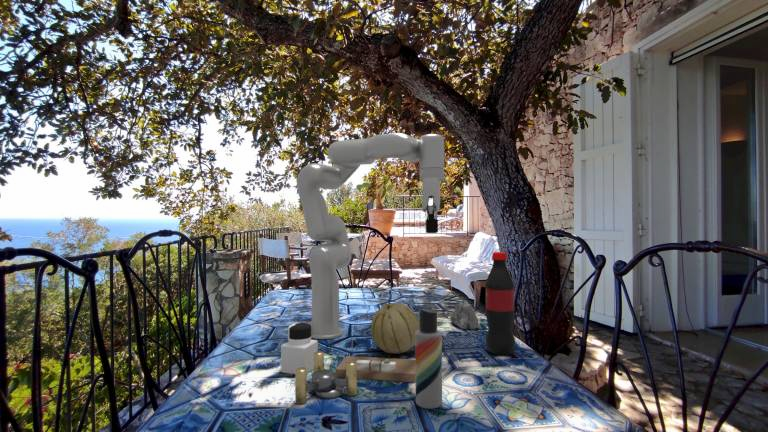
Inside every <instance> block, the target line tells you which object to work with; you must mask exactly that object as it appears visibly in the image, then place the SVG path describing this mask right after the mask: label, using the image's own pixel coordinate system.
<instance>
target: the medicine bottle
mask: <svg viewBox="0 0 768 432" xmlns="http://www.w3.org/2000/svg"><path fill="white" fill-rule="evenodd" d="M317 351H319V341H318V339H312V338H311V325H310V324H308V323H301V322H295V323H292V324H290V325H289V326H288V328H287V341H286V342H285V343H283V344H282V345H281V346H280V372H281V373H282V374H283V373H284V374H289V375H290V374H291V375H295V370H296V369H297V368H302V367H303V368H307V374H309V373H310V372H312V371H314V352H317Z"/></svg>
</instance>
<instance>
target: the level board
mask: <svg viewBox="0 0 768 432" xmlns="http://www.w3.org/2000/svg"><path fill="white" fill-rule="evenodd" d="M349 361H355V362H357V380H359V379H360V380H374V381H386V382H387V381H388V382H389V381H390V382H403V383H404V382H405V383H415V359H405V358H388V357H386V358H385V357H372V356H356V355H355V356H353V355H351V356H349V355H346V356H345V357H344V359H343V360H342V361H341V362H340V363H339V365H337V366H336V368H335V372H336V378H340V379H346V363H347V362H349Z"/></svg>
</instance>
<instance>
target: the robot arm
mask: <svg viewBox="0 0 768 432" xmlns="http://www.w3.org/2000/svg"><path fill="white" fill-rule="evenodd" d="M327 156H328V159H329V161H331V162H332V163H333V165H332V166H331V165H327V164H322V163H314V162H313V163H309V164H307V165H305V166H304V167H302V168H301V170H300V171H299V173H298V176H297V179H296V189H297V193H298V197H299V199H300V203H301V207H302V213H303V218H304V222H305V227H306V231H307V235H308V237H309V239H311V240H313V241H315V242H317V241H318V242H326V243H322V244H321V243H320V244H318V245H316V246H314V247H313V248H312V249H311V250H310V252H309V255H308V264H309V265H308V266H309V269H310V275H311V276H310V277H311V320H310V321H305V320H304V321H303V320H302V321H301V322H300V323H308V324H310V325H311V339H314V340H328V339H335V338H339V337H341V336H342V335H344V333H345V331H344V329H343V328H342V327H340V283H339V282H340V281H339V276H338V274H337V271H336V270H340V269H344V268H346V267H347V266H348V265H349V264H350V263H351V260H352V248H351V245H350V239H349V236H348V230H347V226H346V224H345V222H344V221H343V219H342V218H341V217H340V216H338V215H336V214H329V211H328V208H327V207H328V206H327V203H326V199H325V198H324V197H325V196H323V194H322V193H321V191H320V189H325V190H331V191H333V190H337V189H339V188H341V187H342V186H343V185H344V184H345V183H346V182H347V181H348V180H349V179H350V178H351V176H353V174H355V172H356V171H357V170H358V169H359V167H360V166H362V165H372V164H374V163H375V162H376V160H379V159H395V158H396V159H400V160H403V161H405V162H409V163H417V162H419V181H421V182H422V185H421V186H422V187H421V188H422V191H421V193H422V195H421V196H422V197H421V200H422V201H421V211H422V212H423V213H426V219H425V233H426V234H436V233H439V220H438V213H439V212H440V207H441V206H440V205H441V181H442V182H443V181H445V139H444V137H443V135H441V134H438V133H428V134H427V133H426V134H424V135H421V137H420V138H416V137H412V136H410V135H408V134H406V133H401V132H394V133H393V132H392V133H381V134H376V135H373V136H372V137H369V138H359V139H358V138H357V139H346V140H337V141H334V142H333V143H331V144H330V145H329V147H328V149H327Z"/></svg>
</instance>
